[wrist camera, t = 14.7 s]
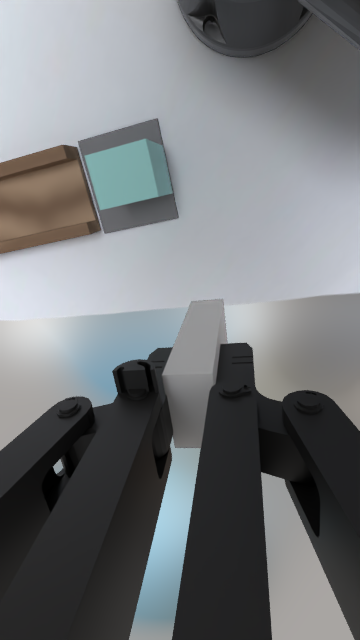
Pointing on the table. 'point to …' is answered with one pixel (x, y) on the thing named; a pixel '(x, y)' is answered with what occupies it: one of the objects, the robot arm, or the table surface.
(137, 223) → the mat
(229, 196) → the table surface
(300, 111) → the table surface
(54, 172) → the chute
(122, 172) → the block
